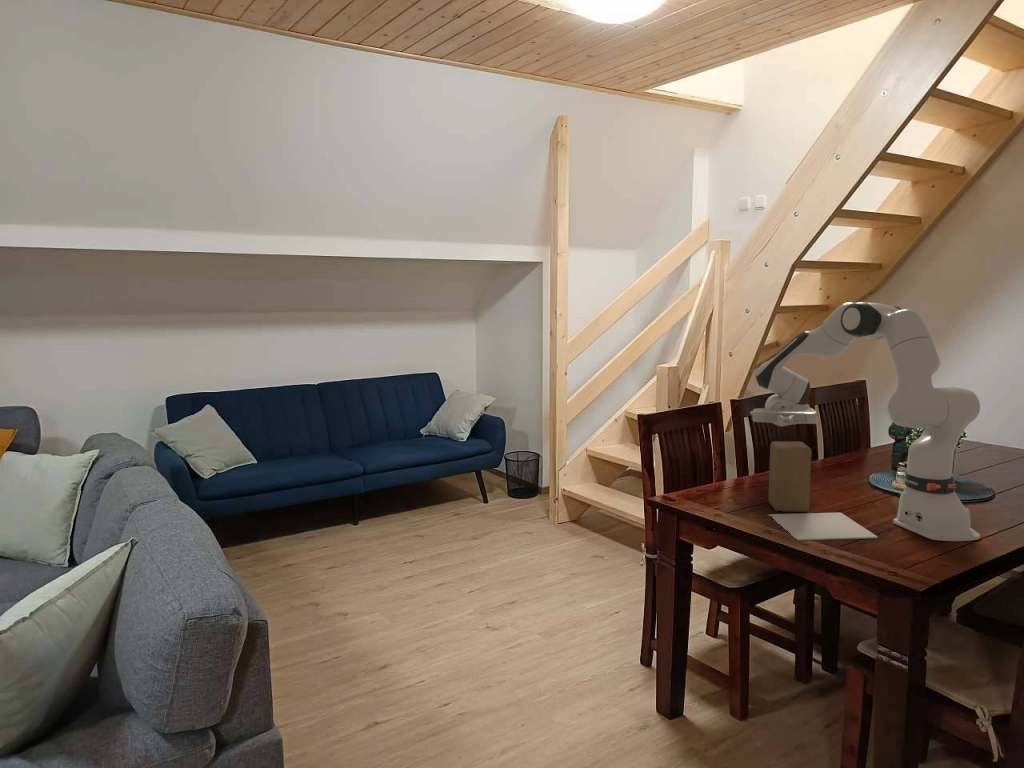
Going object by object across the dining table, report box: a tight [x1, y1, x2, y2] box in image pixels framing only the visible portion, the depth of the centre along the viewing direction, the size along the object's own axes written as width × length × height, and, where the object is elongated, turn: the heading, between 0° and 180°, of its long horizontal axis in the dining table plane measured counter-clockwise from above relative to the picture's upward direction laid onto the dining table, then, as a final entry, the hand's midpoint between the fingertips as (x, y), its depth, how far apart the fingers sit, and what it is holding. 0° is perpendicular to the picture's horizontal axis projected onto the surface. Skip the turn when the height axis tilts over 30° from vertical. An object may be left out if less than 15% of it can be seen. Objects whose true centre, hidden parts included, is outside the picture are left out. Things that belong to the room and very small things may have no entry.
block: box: [767, 440, 812, 513], centre depth 224 cm, size 10×10×20 cm
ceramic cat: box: [887, 421, 914, 469], centre depth 264 cm, size 20×6×20 cm, turn 37°
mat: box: [767, 512, 879, 541], centre depth 208 cm, size 21×22×1 cm
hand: (786, 420), depth 236 cm, fingers closed
